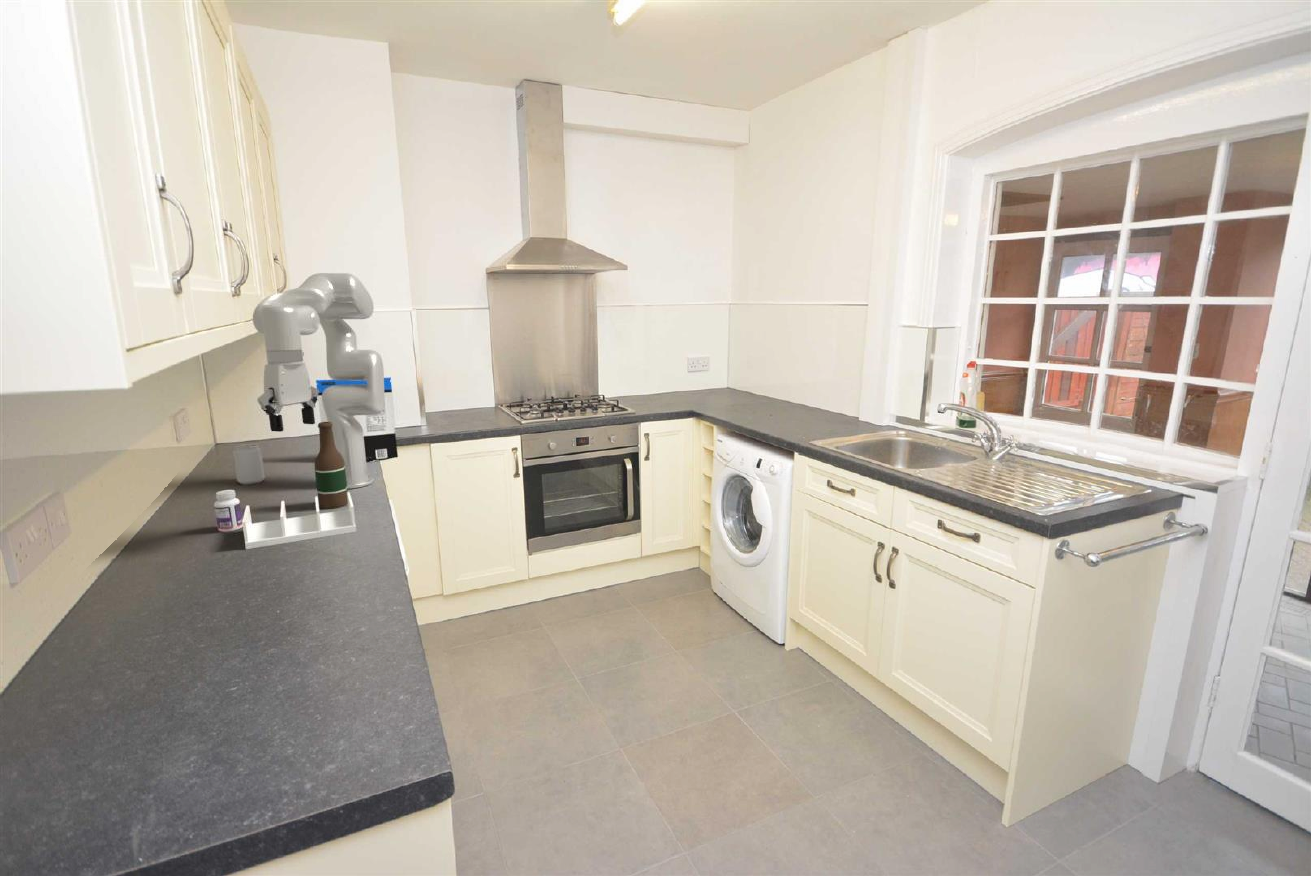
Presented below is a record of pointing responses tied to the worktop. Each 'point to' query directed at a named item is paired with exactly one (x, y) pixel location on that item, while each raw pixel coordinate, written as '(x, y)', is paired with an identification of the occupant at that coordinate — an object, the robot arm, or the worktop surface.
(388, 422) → the protein powder
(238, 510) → the pill bottle
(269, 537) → the shelf rack
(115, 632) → the worktop surface
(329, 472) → the beer bottle
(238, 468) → the can
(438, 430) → the worktop surface
